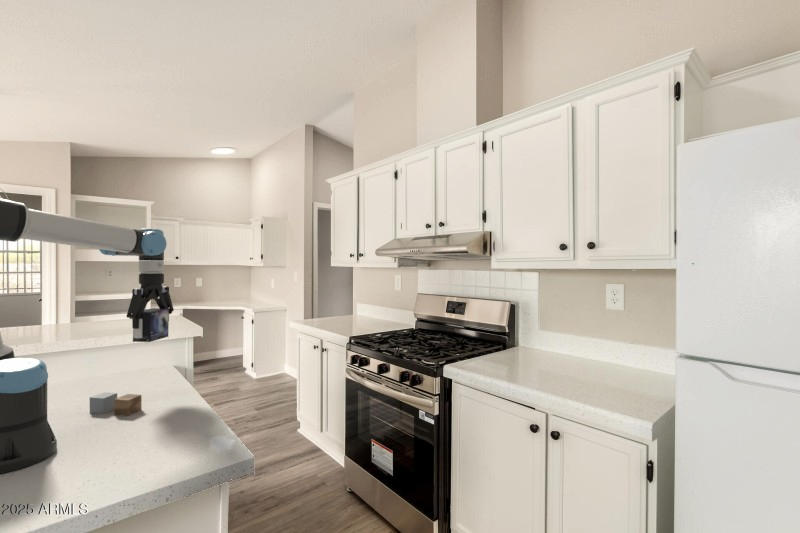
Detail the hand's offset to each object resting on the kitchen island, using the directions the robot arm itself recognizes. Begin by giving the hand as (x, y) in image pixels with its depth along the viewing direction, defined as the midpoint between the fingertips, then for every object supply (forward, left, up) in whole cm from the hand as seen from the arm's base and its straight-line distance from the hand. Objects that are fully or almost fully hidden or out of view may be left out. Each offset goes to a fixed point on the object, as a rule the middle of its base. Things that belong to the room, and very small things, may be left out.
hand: (151, 334), depth 138 cm
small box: (0, 0, -2) cm, 2 cm away
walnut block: (-14, -4, -22) cm, 26 cm away
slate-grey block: (-14, +5, -22) cm, 27 cm away
